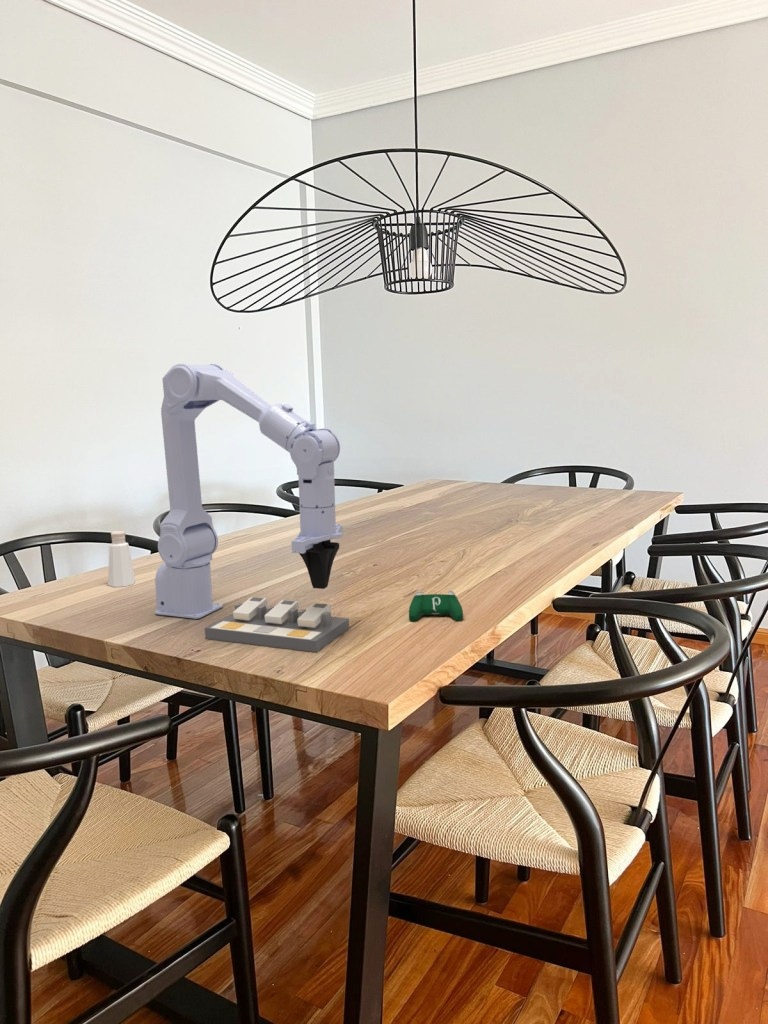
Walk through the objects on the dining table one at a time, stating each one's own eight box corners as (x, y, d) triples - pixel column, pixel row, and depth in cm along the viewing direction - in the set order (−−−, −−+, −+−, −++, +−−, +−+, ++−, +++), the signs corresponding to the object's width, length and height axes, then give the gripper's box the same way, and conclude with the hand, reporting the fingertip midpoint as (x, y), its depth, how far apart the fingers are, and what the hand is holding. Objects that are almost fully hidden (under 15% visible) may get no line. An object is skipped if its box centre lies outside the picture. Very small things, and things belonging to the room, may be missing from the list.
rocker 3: (298, 625, 126) (297, 618, 125) (314, 609, 131) (313, 602, 130) (315, 627, 125) (314, 620, 124) (331, 611, 130) (330, 604, 129)
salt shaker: (102, 586, 161) (98, 533, 159) (119, 579, 166) (115, 528, 164) (124, 588, 159) (120, 534, 158) (141, 581, 164) (137, 529, 163)
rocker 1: (233, 618, 130) (232, 611, 130) (252, 603, 135) (251, 596, 135) (249, 620, 129) (248, 613, 129) (267, 604, 134) (266, 597, 134)
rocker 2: (265, 622, 128) (264, 615, 128) (283, 606, 133) (282, 599, 133) (281, 624, 127) (280, 617, 126) (298, 607, 132) (297, 600, 132)
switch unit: (205, 638, 127) (204, 615, 127) (245, 617, 138) (244, 596, 138) (316, 652, 120) (315, 628, 119) (349, 628, 131) (348, 606, 130)
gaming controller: (462, 628, 136) (460, 598, 140) (463, 618, 133) (461, 587, 137) (409, 628, 136) (408, 598, 140) (408, 618, 133) (408, 587, 137)
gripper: (319, 514, 119) (322, 601, 121) (358, 499, 132) (360, 578, 134) (278, 511, 121) (281, 597, 123) (320, 498, 134) (323, 575, 137)
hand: (320, 587), depth 129 cm, fingers closed
